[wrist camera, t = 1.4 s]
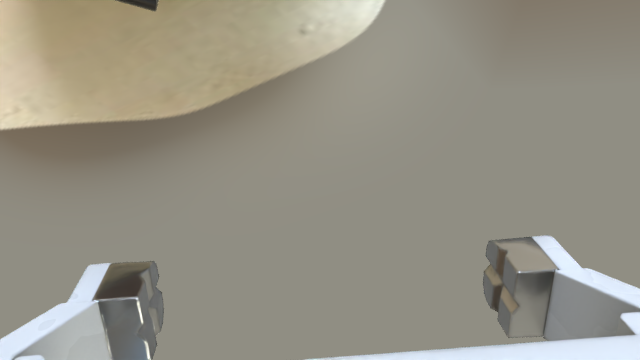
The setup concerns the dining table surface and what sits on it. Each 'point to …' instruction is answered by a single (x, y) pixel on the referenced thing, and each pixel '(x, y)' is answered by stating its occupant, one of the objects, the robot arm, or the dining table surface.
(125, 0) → the drawer
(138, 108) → the dining table surface
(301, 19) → the dining table surface
